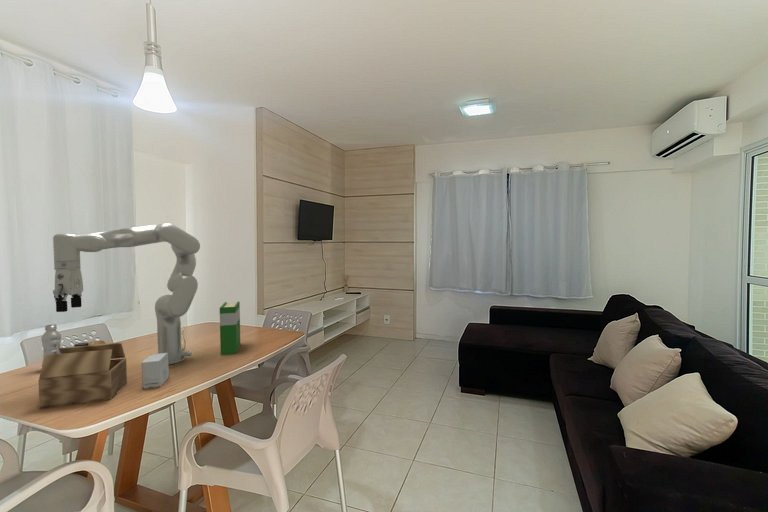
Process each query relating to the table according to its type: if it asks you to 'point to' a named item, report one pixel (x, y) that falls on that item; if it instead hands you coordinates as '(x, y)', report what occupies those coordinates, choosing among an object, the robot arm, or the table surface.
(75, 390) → the carton
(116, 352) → the right flap
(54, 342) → the plastic bottle
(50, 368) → the left flap
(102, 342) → the bread roll
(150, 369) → the skincare box
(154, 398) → the table surface
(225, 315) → the hardback book
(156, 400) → the table surface
